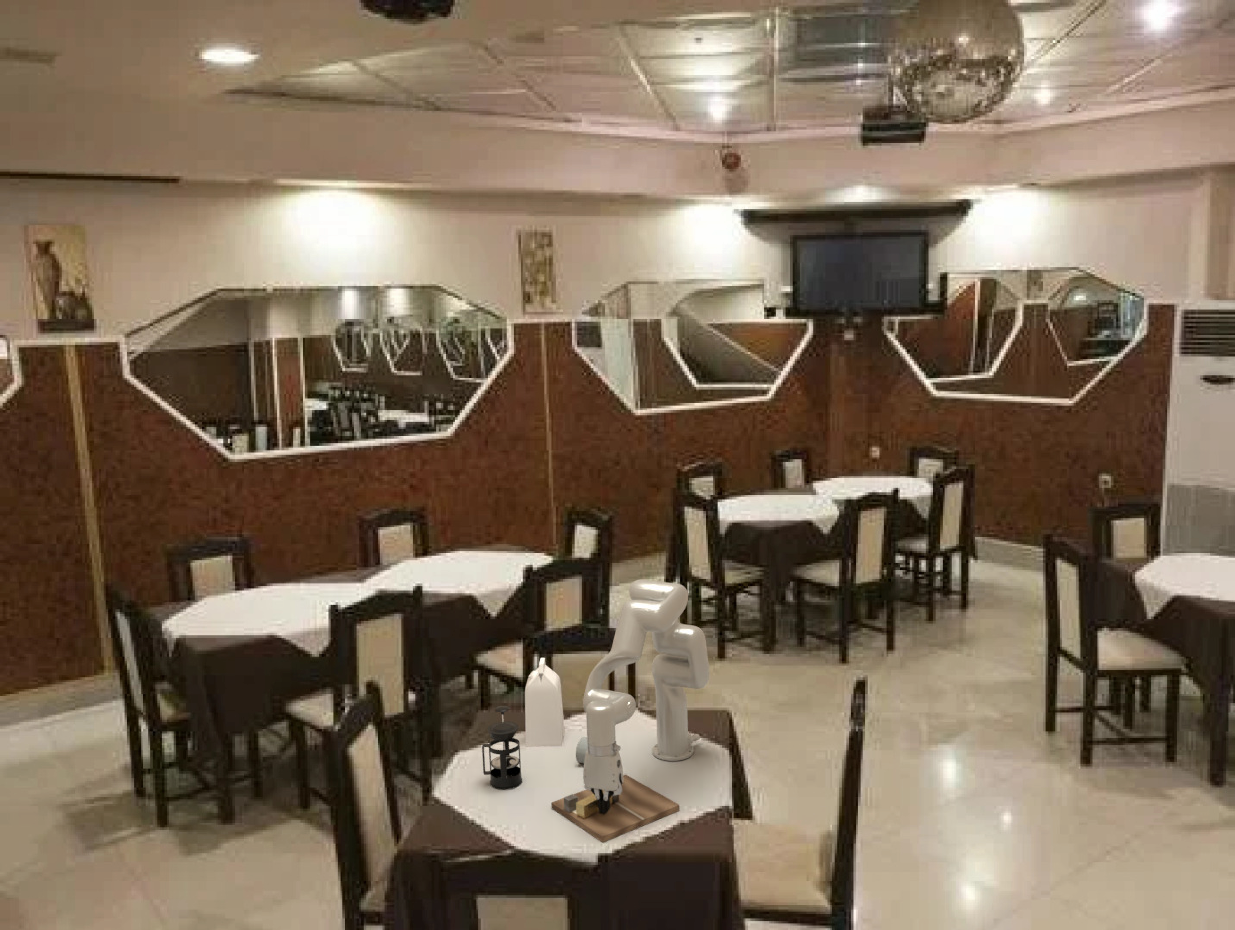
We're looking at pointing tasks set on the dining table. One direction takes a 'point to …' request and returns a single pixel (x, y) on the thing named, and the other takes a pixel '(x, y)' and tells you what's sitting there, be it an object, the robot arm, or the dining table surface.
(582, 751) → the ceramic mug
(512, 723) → the french press
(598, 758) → the robot arm
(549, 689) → the milk
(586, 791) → the board
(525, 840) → the dining table surface
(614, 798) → the bar
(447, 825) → the dining table surface
